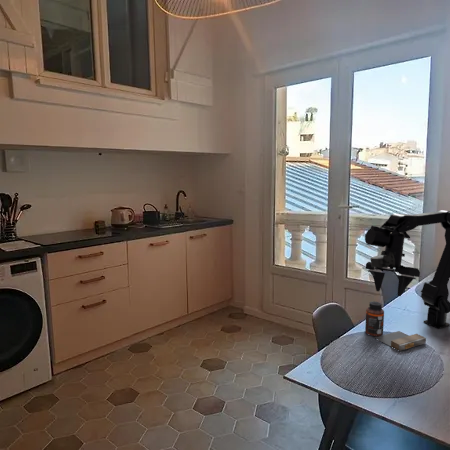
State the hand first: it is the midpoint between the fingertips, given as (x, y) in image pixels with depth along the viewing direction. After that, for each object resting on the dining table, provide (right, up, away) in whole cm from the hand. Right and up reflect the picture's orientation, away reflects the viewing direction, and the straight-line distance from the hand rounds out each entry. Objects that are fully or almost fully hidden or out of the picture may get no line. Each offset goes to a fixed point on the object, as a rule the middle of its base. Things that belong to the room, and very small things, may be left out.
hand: (388, 293), depth 131 cm
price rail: (+4, -16, -6) cm, 18 cm away
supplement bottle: (-4, -15, +3) cm, 16 cm away
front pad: (+2, -15, -2) cm, 16 cm away
